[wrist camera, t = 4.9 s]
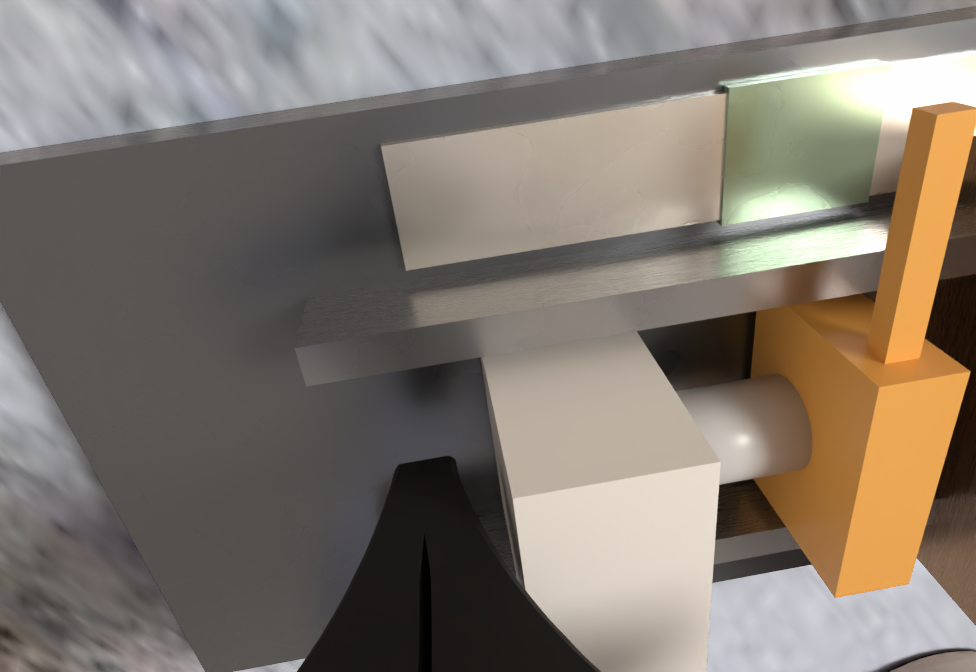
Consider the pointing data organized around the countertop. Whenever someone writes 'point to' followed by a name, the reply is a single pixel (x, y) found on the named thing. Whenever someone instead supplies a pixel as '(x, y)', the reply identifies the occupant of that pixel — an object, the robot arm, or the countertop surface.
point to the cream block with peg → (628, 489)
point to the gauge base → (457, 292)
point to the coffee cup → (942, 663)
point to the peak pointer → (875, 382)
